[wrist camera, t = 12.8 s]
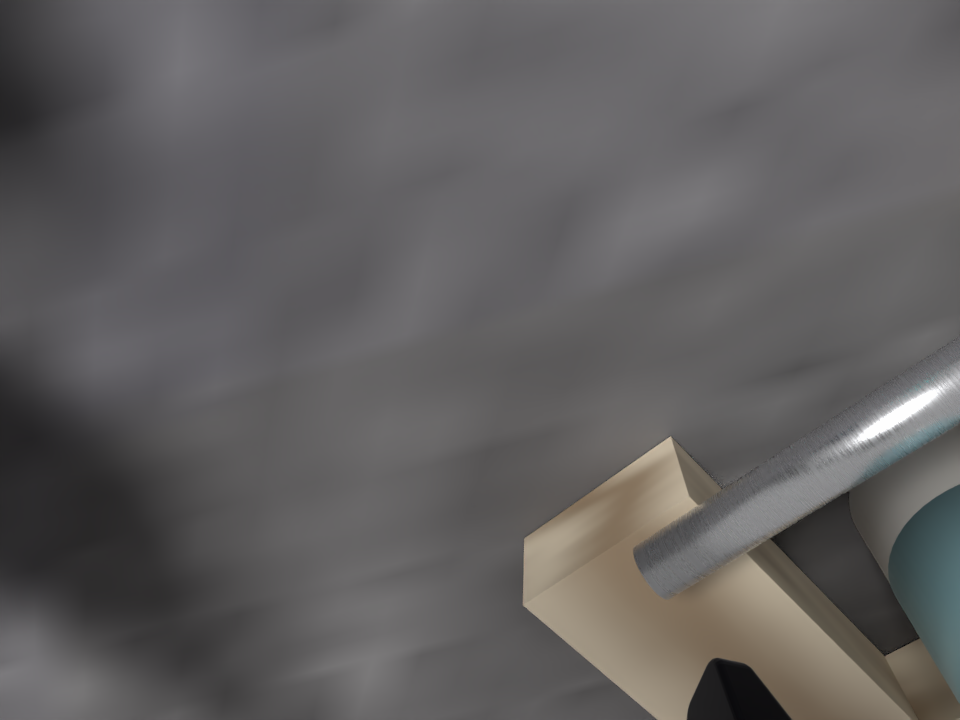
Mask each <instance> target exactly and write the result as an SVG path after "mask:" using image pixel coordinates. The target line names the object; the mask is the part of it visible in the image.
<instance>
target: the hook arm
mask: <svg viewBox="0 0 960 720" xmlns="http://www.w3.org/2000/svg"><path fill="white" fill-rule="evenodd" d="M959 424H960V336H958V337H957V338H955V339H954V340H952V341H951V342H949V343H948V344H946V345H945V346H943V347H942V348H940V349H938V350H937V351H935V352H934V353H932V354H931V355H929V356H928V357H926V358H925V359H923V360H921V361H920V362H918V363H917V364H915V365H914V366H912V367H911V368H909V369H908V370H906V371H904V372H903V373H901V374H900V375H898V376H897V377H895V378H894V379H892V380H891V381H889V382H888V383H886V384H884V385H883V386H881V387H880V388H878V389H877V390H875V391H874V392H872V393H871V394H869V395H867V396H866V397H864V398H863V399H861V400H860V401H858V402H857V403H855V404H854V405H852V406H850V407H849V408H847V409H846V410H844V411H843V412H841V413H840V414H838V415H837V416H835V417H834V418H832V419H830V420H829V421H827V422H826V423H824V424H823V425H821V426H820V427H818V428H817V429H815V430H813V431H812V432H810V433H809V434H807V435H806V436H804V437H803V438H801V439H800V440H798V441H796V442H795V443H793V444H792V445H790V446H789V447H787V448H786V449H784V450H783V451H781V452H779V453H778V454H776V455H775V456H773V457H772V458H770V459H769V460H767V461H766V462H764V463H763V464H761V465H759V466H758V467H756V468H755V469H753V470H752V471H750V472H749V473H747V474H746V475H744V476H742V477H741V478H739V479H738V480H736V481H735V482H733V483H732V484H730V485H729V486H727V487H725V488H724V489H722V490H721V491H719V492H718V493H716V494H715V495H713V496H712V497H710V498H709V499H707V500H705V501H704V502H702V503H701V504H699V505H698V506H696V507H695V508H693V509H692V510H690V511H688V512H687V513H685V514H684V515H682V516H681V517H679V518H678V519H676V520H675V521H673V522H671V523H670V524H668V525H667V526H665V527H664V528H662V529H661V530H659V531H658V532H656V533H655V534H653V535H651V536H650V537H648V538H647V539H645V540H644V541H642V542H641V543H639V544H638V545H636V546H635V547H634V548H633V555H634V559H635V562H636V564H637V567H638V569H639V571H640V572H641V574H642V576H643V578H644V579H645V580H646V582H647V583H648V585H649V586H650V587H651V588H652V589H653V591H654V592H655V593H656V594H658V595H659V596H660V597H661V598H663V599H666V600H669V599H671V598H672V597H674V596H675V595H677V594H679V593H680V592H682V591H684V590H685V589H687V588H689V587H690V586H692V585H694V584H695V583H697V582H699V581H700V580H702V579H704V578H705V577H707V576H709V575H710V574H712V573H714V572H715V571H717V570H719V569H720V568H722V567H723V566H725V565H727V564H728V563H730V562H732V561H733V560H735V559H737V558H738V557H740V556H742V555H743V554H745V553H747V552H748V551H750V550H752V549H753V548H755V547H757V546H758V545H760V544H762V543H763V542H765V541H767V540H768V539H770V538H771V537H773V536H775V535H776V534H778V533H780V532H781V531H783V530H785V529H786V528H788V527H790V526H791V525H793V524H795V523H796V522H798V521H800V520H801V519H803V518H805V517H806V516H808V515H810V514H811V513H813V512H815V511H816V510H818V509H819V508H821V507H823V506H824V505H826V504H828V503H829V502H831V501H833V500H834V499H836V498H838V497H839V496H841V495H843V494H844V493H846V492H848V491H849V490H851V489H853V488H854V487H856V486H858V485H859V484H861V483H863V482H864V481H866V480H868V479H869V478H871V477H872V476H874V475H876V474H877V473H879V472H881V471H882V470H884V469H886V468H887V467H889V466H891V465H892V464H894V463H896V462H897V461H899V460H901V459H902V458H904V457H906V456H907V455H909V454H911V453H912V452H914V451H916V450H917V449H919V448H920V447H922V446H924V445H925V444H927V443H929V442H930V441H932V440H934V439H935V438H937V437H939V436H940V435H942V434H944V433H945V432H947V431H949V430H950V429H952V428H954V427H955V426H957V425H959Z"/></svg>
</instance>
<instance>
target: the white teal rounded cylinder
mask: <svg viewBox="0 0 960 720" xmlns="http://www.w3.org/2000/svg"><path fill="white" fill-rule="evenodd" d="M849 510H850V514H851V518H852V520H853V522H854V524H855V527H856V528H857V530H858V532H859V533H860V535H861V537H862V538H863V540H864V542H865V543H866V545H867V547H868V548H869V550H870V552H871V553H872V555H873V557H874V558H875V560H876V562H877V563H878V565H879V567H880V568H881V570H882V572H883V573H884V575H885V577H886V578H887V580H888V582H889V583H890V586H891V588H892V591H893V593H894V595H895V597H896V599H897V600H898V602H899V604H900V605H901V607H902V609H903V610H904V612H905V614H906V615H907V617H908V619H909V620H910V622H911V624H912V625H913V627H914V629H915V630H916V632H917V634H918V635H919V637H920V639H921V640H922V642H923V644H924V645H925V647H926V649H927V650H928V652H929V654H930V655H931V657H932V659H933V661H934V662H935V664H936V666H937V667H938V669H939V671H940V672H941V674H942V676H943V677H944V679H945V681H946V682H947V684H948V686H949V687H950V689H951V691H952V692H953V694H954V696H955V697H956V699H957V701H958V702H959V704H960V424H959V425H957V426H955V427H954V428H952V429H950V430H949V431H947V432H945V433H944V434H942V435H940V436H939V437H937V438H935V439H934V440H932V441H930V442H929V443H927V444H925V445H924V446H922V447H920V448H919V449H917V450H916V451H914V452H912V453H911V454H909V455H907V456H906V457H904V458H902V459H901V460H899V461H897V462H896V463H894V464H892V465H891V466H889V467H887V468H886V469H884V470H882V471H881V472H879V473H877V474H876V475H874V476H872V477H871V478H869V479H868V480H866V481H864V482H863V483H861V484H859V485H858V486H856V487H854V488H853V489H851V490H850V493H849Z"/></svg>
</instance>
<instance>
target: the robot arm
mask: <svg viewBox="0 0 960 720" xmlns="http://www.w3.org/2000/svg"><path fill="white" fill-rule="evenodd" d="M687 720H792V719H791V717H790V716H789V715H788V714H787V712H786V711H785V710H784V708H783V707H782V706H781V705H780V703H779V702H778V701H777V700H776V698H775V697H774V696H773V694H772V693H771V692H770V691H769V689H768V688H767V687H766V686H765V684H764V683H763V682H762V680H761V679H760V678H759V677H758V675H757V674H756V673H755V672H754V670H753V669H752V668H751V667H749V666H748V665H747V664H745V663H741V662H736V661H732V660H727V659H722V658H713V659H712V660H711V661H709V663H708V664H707V666H706V668H705V670H704V673H703V675H702V677H701V679H700V681H699V684H698V686H697V688H696V690H695V692H694V694H693V697H692V699H691V701H690V704H689V707H688V712H687Z"/></svg>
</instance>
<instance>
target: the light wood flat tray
mask: <svg viewBox="0 0 960 720" xmlns="http://www.w3.org/2000/svg"><path fill="white" fill-rule="evenodd" d="M721 490H722V489H721V488H720V486H719V485H718V484H717V483H716V482H715V481H714V480H713V479H712V478H711V477H710V476H709V475H708V474H707V473H706V472H705V471H704V470H703V469H702V468H701V467H700V466H699V465H698V464H697V463H696V462H695V461H694V460H693V459H692V458H691V457H690V456H689V455H688V454H687V453H686V452H685V450H684V449H683V448H682V447H681V446H680V445H679V444H678V443H677V442H676V441H675V440H674V439H673V438H672V437H671V436H670V437H669V438H667V439H666V440H665V441H663V442H662V443H660V444H659V445H657V446H656V447H655V448H653V449H652V450H650V451H649V452H647V453H646V454H644V455H643V456H642V457H640V458H639V459H637V460H636V461H634V462H633V463H632V464H630V465H629V466H627V467H626V468H624V469H623V470H622V471H620V472H619V473H617V474H616V475H614V476H613V477H612V478H610V479H609V480H607V481H606V482H604V483H603V484H602V485H600V486H599V487H597V488H596V489H594V490H593V491H592V492H590V493H589V494H587V495H586V496H584V497H583V498H582V499H580V500H579V501H577V502H576V503H574V504H573V505H572V506H570V507H569V508H567V509H566V510H564V511H563V512H561V513H560V514H559V515H557V516H556V517H554V518H553V519H551V520H550V521H549V522H547V523H546V524H544V525H543V526H541V527H540V528H539V529H537V530H536V531H534V532H533V533H531V534H530V535H529V536H527V537H526V538H524V577H523V606H524V607H526V608H527V609H528V610H529V611H530V612H531V613H533V614H534V615H535V616H536V617H537V618H539V619H540V620H541V621H542V622H543V623H544V624H546V625H547V626H548V627H549V628H550V629H551V630H553V631H554V632H555V633H556V634H557V635H559V636H560V637H561V638H562V639H563V640H564V641H566V642H567V643H568V644H569V645H570V646H571V647H573V648H574V649H575V650H576V651H577V652H578V653H580V654H581V655H582V656H583V657H584V658H586V659H587V660H588V661H589V662H590V663H591V664H593V665H594V666H595V667H596V668H597V669H598V670H600V671H601V672H602V673H603V674H604V675H606V676H607V677H608V678H609V679H610V680H611V681H613V682H614V683H615V684H616V685H617V686H618V687H620V688H621V689H622V690H623V691H624V692H626V693H627V694H628V695H629V696H630V697H631V698H633V699H634V700H635V701H636V702H637V703H638V704H640V705H641V706H642V707H643V708H644V709H645V710H647V711H648V712H649V713H650V714H651V715H653V716H654V717H655V718H656V719H657V720H687V712H688V707H689V704H690V701H691V699H692V697H693V694H694V692H695V690H696V688H697V686H698V684H699V681H700V679H701V677H702V675H703V673H704V670H705V668H706V666H707V664H708V663H709V661H711V660H712V659H713V658H722V659H727V660H732V661H736V662H741V663H745V664H747V665H748V666H749V667H751V668H752V669H753V670H754V672H755V673H756V674H757V675H758V677H759V678H760V679H761V680H762V682H763V683H764V684H765V686H766V687H767V688H768V689H769V691H770V692H771V693H772V694H773V696H774V697H775V698H776V700H777V701H778V702H779V703H780V705H781V706H782V707H783V708H784V710H785V711H786V712H787V714H788V715H789V716H790V717H791V719H792V720H960V704H959V702H958V701H957V699H956V697H955V696H954V694H953V692H952V691H951V689H950V687H949V686H948V684H947V682H946V681H945V679H944V677H943V676H942V674H941V672H940V671H939V669H938V667H937V666H936V664H935V662H934V661H933V659H932V657H931V655H930V654H929V652H928V650H927V649H926V647H925V645H924V644H923V642H922V640H921V639H918V640H916V641H914V642H912V643H910V644H908V645H906V646H904V647H902V648H900V649H898V650H896V651H894V652H892V653H890V654H888V655H886V656H884V655H883V654H882V653H881V652H880V651H879V650H878V649H877V648H876V647H875V646H874V645H873V644H872V643H871V642H870V641H869V640H868V639H867V638H866V637H865V636H864V635H863V634H862V633H861V631H860V630H859V629H858V628H857V627H856V626H855V625H854V624H853V623H852V622H851V621H850V620H849V619H848V618H847V617H846V616H845V615H844V614H843V613H842V612H841V611H840V610H839V609H838V608H837V607H836V606H835V605H834V604H833V603H832V602H831V601H830V600H829V599H828V598H827V597H826V595H825V594H824V593H823V592H822V591H821V590H820V589H819V588H818V587H817V586H816V585H815V584H814V583H813V582H812V581H811V580H810V579H809V578H808V577H807V576H806V575H805V574H804V573H803V572H802V571H801V570H800V569H799V568H798V567H797V566H796V565H795V564H794V563H793V562H792V561H791V560H790V558H789V557H788V556H787V555H786V554H785V553H784V552H783V551H782V550H781V549H780V548H779V547H778V546H777V545H776V544H775V543H774V542H773V541H772V540H771V539H768V540H767V541H765V542H763V543H762V544H760V545H758V546H757V547H755V548H753V549H752V550H750V551H748V552H747V553H745V554H743V555H742V556H740V557H738V558H737V559H735V560H733V561H732V562H730V563H728V564H727V565H725V566H723V567H722V568H720V569H719V570H717V571H715V572H714V573H712V574H710V575H709V576H707V577H705V578H704V579H702V580H700V581H699V582H697V583H695V584H694V585H692V586H690V587H689V588H687V589H685V590H684V591H682V592H680V593H679V594H677V595H675V596H674V597H672V598H671V599H669V600H666V599H663V598H661V597H660V596H659V595H658V594H656V593H655V592H654V591H653V589H652V588H651V587H650V586H649V585H648V583H647V582H646V580H645V579H644V578H643V576H642V574H641V572H640V571H639V569H638V567H637V564H636V562H635V559H634V555H633V548H634V547H635V546H636V545H638V544H639V543H641V542H642V541H644V540H645V539H647V538H648V537H650V536H651V535H653V534H655V533H656V532H658V531H659V530H661V529H662V528H664V527H665V526H667V525H668V524H670V523H671V522H673V521H675V520H676V519H678V518H679V517H681V516H682V515H684V514H685V513H687V512H688V511H690V510H692V509H693V508H695V507H696V506H698V505H699V504H701V503H702V502H704V501H705V500H707V499H709V498H710V497H712V496H713V495H715V494H716V493H718V492H719V491H721Z"/></svg>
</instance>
